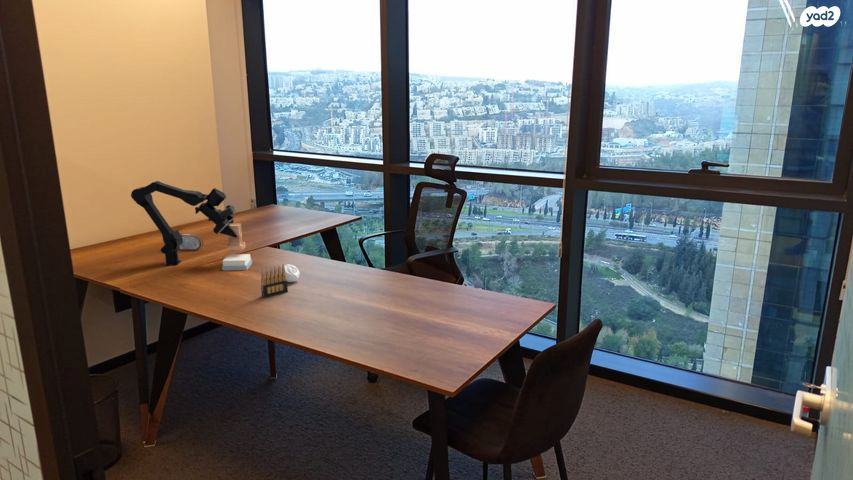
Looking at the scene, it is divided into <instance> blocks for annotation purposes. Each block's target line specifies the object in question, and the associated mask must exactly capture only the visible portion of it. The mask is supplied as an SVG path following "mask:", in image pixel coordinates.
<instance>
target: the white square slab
mask: <svg viewBox="0 0 853 480" xmlns="http://www.w3.org/2000/svg"><path fill="white" fill-rule="evenodd" d="M250 259H252V258H251V254H250V253H247V254H246V253H245V254H244V253H243V254H241V253H240V254H239V253H237V254H235V253H233V254H232V253H231V254H230V253H229V254H228V255H227V256H226V257H225V258H224V259H223V260H222V266H245V265H246V264H247V263H248V262H249V261H250Z"/></svg>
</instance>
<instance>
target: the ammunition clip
mask: <svg viewBox="0 0 853 480" xmlns="http://www.w3.org/2000/svg"><path fill="white" fill-rule="evenodd" d="M284 266H285V265H284V264H282V266H281V265H280V264H278V266H276V265H274V267H272V266H270V267H269V268H268V267H266V268H265V270H264V268H261V274H260V275H261V279H260V280H261V285H260V287H261V289H260V290H261V297H262V298H263V299H265V298H268V297H271V296H276V295H281V294H285V293H288V292H289V290H288V282H287V280H286V273H285V267H284ZM281 270H282V274H281Z"/></svg>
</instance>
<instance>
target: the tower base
mask: <svg viewBox="0 0 853 480" xmlns="http://www.w3.org/2000/svg"><path fill="white" fill-rule="evenodd" d="M252 264H253V259H252V258H251V259H250V261H249V262H248V263H247V264H246V265H245V266H223V265H222V267H221V269H222V271H247V270H248V269H249V268H250V267H251V265H252Z"/></svg>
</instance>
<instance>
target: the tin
mask: <svg viewBox="0 0 853 480" xmlns="http://www.w3.org/2000/svg"><path fill="white" fill-rule="evenodd" d="M179 233H180V234H181V235H182V236H183V237H182V239H183V243H182V245H180V248H179V249H178V250H181V251H197V250H200V249H201V248H202V247H203V245H204V240H203V237H201V236H200V235H199V234H196V233H184V232H183V233H181V232H179Z"/></svg>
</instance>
